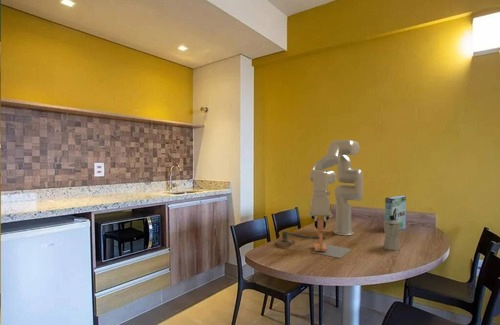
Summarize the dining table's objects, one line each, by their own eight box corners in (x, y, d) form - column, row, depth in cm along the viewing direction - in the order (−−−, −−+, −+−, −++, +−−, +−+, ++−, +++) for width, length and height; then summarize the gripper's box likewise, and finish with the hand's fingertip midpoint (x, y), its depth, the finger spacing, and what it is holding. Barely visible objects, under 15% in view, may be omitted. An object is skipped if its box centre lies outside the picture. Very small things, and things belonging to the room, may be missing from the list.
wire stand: (284, 241, 169) (284, 229, 169) (325, 250, 153) (325, 236, 153) (274, 245, 161) (274, 232, 161) (317, 255, 145) (317, 240, 145)
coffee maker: (400, 252, 149) (400, 218, 149) (381, 250, 154) (382, 216, 154) (401, 245, 163) (401, 213, 162) (384, 243, 167) (384, 212, 167)
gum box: (399, 227, 206) (399, 195, 205) (406, 228, 202) (406, 196, 201) (384, 231, 194) (384, 197, 194) (391, 232, 190) (392, 198, 190)
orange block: (313, 244, 159) (313, 216, 159) (324, 245, 158) (324, 217, 158) (315, 250, 149) (315, 221, 149) (326, 251, 148) (327, 221, 148)
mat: (325, 244, 163) (325, 244, 163) (351, 250, 154) (351, 249, 154) (312, 252, 150) (312, 251, 150) (340, 258, 141) (340, 257, 141)
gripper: (334, 193, 156) (334, 227, 156) (304, 192, 158) (304, 226, 158) (337, 195, 148) (337, 230, 149) (304, 194, 151) (304, 229, 151)
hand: (320, 228), depth 153 cm, fingers closed on orange block, 3 cm apart
